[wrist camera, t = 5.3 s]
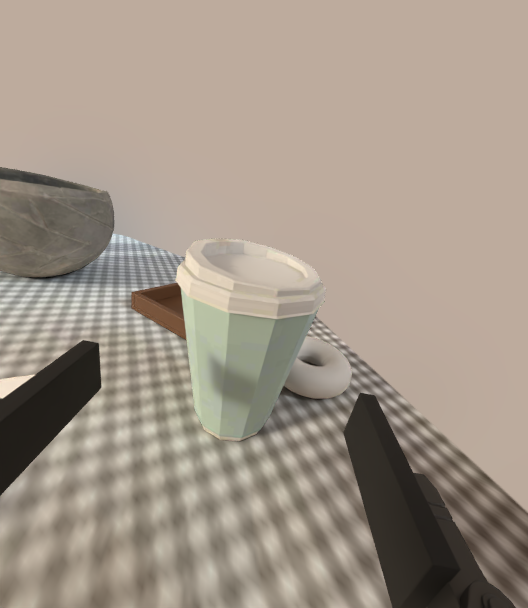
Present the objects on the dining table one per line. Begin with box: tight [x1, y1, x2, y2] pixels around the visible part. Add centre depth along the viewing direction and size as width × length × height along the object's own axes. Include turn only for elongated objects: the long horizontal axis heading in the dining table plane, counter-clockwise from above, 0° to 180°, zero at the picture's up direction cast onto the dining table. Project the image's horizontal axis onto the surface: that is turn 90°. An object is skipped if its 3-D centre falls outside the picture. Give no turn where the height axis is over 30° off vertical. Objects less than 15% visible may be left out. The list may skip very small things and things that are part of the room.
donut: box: [284, 336, 352, 399], centre depth 31 cm, size 10×4×10 cm
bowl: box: [0, 167, 114, 277], centre depth 42 cm, size 21×21×15 cm
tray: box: [131, 283, 187, 340], centre depth 41 cm, size 19×17×3 cm
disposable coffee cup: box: [175, 239, 326, 441], centre depth 21 cm, size 11×11×15 cm
